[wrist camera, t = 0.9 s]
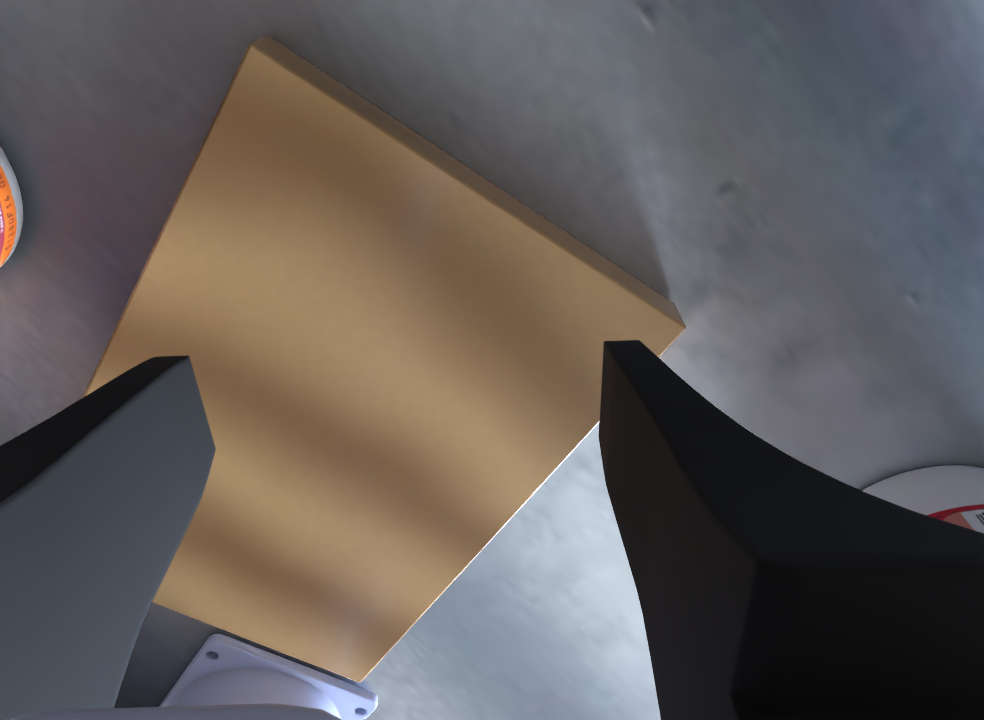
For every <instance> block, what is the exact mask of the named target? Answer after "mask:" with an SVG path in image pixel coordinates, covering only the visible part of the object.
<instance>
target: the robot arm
mask: <svg viewBox="0 0 984 720" xmlns="http://www.w3.org/2000/svg"><path fill="white" fill-rule="evenodd" d="M599 442H600V449H601V455H602V462H603V469H604V475H605V481H606V486H607V489H608V493H609V497H610V500H611V503H612V507H613V510H614V514H615V517H616V521H617V524H618V527H619V531H620V534H621V538H622V541H623V544H624V548H625V551H626V554H627V558H628V561H629V565H630V568H631V571H632V575H633V578H634V581H635V585H636V588H637V592H638V596H639V600H640V604H641V608H642V613H643V618H644V624H645V629H646V635H647V640H648V646H649V651H650V657H651V662H652V668H653V674H654V680H655V686H656V692H657V698H658V704H659V710H660V716H661V720H984V533H981V532H978V531H975V530H972V529H968V528H965V527H962V526H959V525H956V524H952V523H949V522H946V521H943V520H940V519H937V518H933V517H930V516H927V515H924V514H921V513H918V512H915V511H912V510H909V509H906V508H904V507H901V506H899V505H896V504H894V503H891V502H888V501H886V500H883V499H881V498H878V497H876V496H873V495H870V494H868V493H866V492H863V491H861V490H859V489H856V488H854V487H852V486H849V485H847V484H845V483H843V482H840V481H838V480H836V479H834V478H832V477H830V476H828V475H826V474H824V473H822V472H820V471H818V470H816V469H814V468H812V467H810V466H808V465H806V464H804V463H802V462H800V461H798V460H797V459H795V458H793V457H791V456H789V455H787V454H786V453H784V452H782V451H781V450H779V449H777V448H776V447H774V446H772V445H771V444H769V443H767V442H766V441H764V440H763V439H761V438H759V437H758V436H756V435H754V434H753V433H751V432H750V431H748V430H747V429H745V428H744V427H742V426H741V425H740V424H738V423H737V422H736V421H734V420H733V419H731V418H730V417H729V416H727V415H726V414H725V413H723V412H722V411H721V410H719V409H718V408H716V407H715V406H714V405H713V404H711V403H710V402H709V401H708V400H706V399H705V398H704V397H703V396H701V395H700V394H699V393H698V392H697V391H695V390H694V389H693V388H692V387H691V386H690V385H688V384H687V383H686V382H685V381H684V380H683V379H681V378H680V377H679V376H678V375H677V374H676V373H675V372H674V371H673V370H671V369H670V368H669V367H668V366H667V365H666V364H665V363H664V362H663V361H662V360H661V359H659V358H658V357H657V356H656V355H655V354H654V353H653V352H652V351H651V350H650V349H649V348H648V347H647V346H645V345H644V344H643V343H642V342H641V341H640V340H622V341H604V346H603V365H602V384H601V403H600V422H599ZM215 451H216V448H215V444H214V441H213V437H212V434H211V430H210V427H209V423H208V420H207V416H206V413H205V409H204V406H203V402H202V399H201V395H200V392H199V388H198V385H197V381H196V378H195V374H194V371H193V367H192V364H191V360H190V357H189V355H188V356H159V357H153V358H150V359H148V360H146V361H144V362H142V363H140V364H138V365H136V366H135V367H133V368H131V369H129V370H128V371H126V372H124V373H123V374H121V375H119V376H118V377H116V378H114V379H113V380H111V381H109V382H108V383H106V384H104V385H103V386H101V387H100V388H98V389H96V390H95V391H93V392H91V393H90V394H88V395H87V396H85V397H83V398H82V399H80V400H78V401H77V402H75V403H74V404H72V405H70V406H69V407H67V408H65V409H64V410H62V411H61V412H59V413H57V414H56V415H54V416H52V417H50V418H49V419H47V420H45V421H43V422H42V423H40V424H38V425H36V426H35V427H33V428H31V429H29V430H28V431H26V432H24V433H22V434H21V435H19V436H17V437H15V438H14V439H12V440H10V441H8V442H7V443H5V444H3V445H1V446H0V720H365V719H366V718H367V717H368V716H369V715H370V714H371V713H372V712H373V711H374V710H375V709H376V707H377V703H378V697H377V695H376V694H375V693H373V692H371V691H368V690H365V689H363V688H360V687H358V686H355V685H353V684H350V683H347V682H345V681H342V680H340V679H337V678H334V677H332V676H329V675H327V674H324V673H322V672H319V671H316V670H314V669H311V668H309V667H306V666H303V665H301V664H298V663H296V662H293V661H291V660H288V659H285V658H283V657H280V656H278V655H275V654H273V653H270V652H267V651H265V650H262V649H260V648H257V647H254V646H252V645H249V644H247V643H244V642H242V641H239V640H236V639H234V638H231V637H229V636H226V635H223V634H214V635H211V636H210V637H208V639H207V640H206V642H205V643H204V644H203V646H202V647H201V649H200V650H199V651H198V653H197V654H196V655H195V657H194V658H193V660H192V661H191V662H190V664H189V665H188V667H187V668H186V669H185V671H184V672H183V674H182V675H181V676H180V678H179V679H178V681H177V682H176V683H175V685H174V686H173V687H172V689H171V690H170V692H169V693H168V694H167V696H166V697H165V699H164V700H163V701H162V703H161V704H160V706H159V707H139V708H114V706H115V703H116V699H117V696H118V693H119V690H120V687H121V683H122V680H123V678H124V675H125V672H126V669H127V666H128V663H129V660H130V657H131V655H132V652H133V649H134V646H135V643H136V640H137V637H138V634H139V632H140V629H141V626H142V624H143V622H144V619H145V617H146V615H147V612H148V610H149V608H150V605H151V603H152V601H153V599H154V597H155V595H156V593H157V591H158V589H159V587H160V584H161V582H162V580H163V578H164V576H165V574H166V572H167V570H168V568H169V566H170V564H171V562H172V560H173V558H174V555H175V553H176V551H177V549H178V547H179V545H180V543H181V541H182V539H183V537H184V535H185V533H186V530H187V528H188V526H189V524H190V522H191V520H192V518H193V515H194V513H195V511H196V509H197V507H198V505H199V502H200V500H201V498H202V495H203V492H204V489H205V486H206V482H207V479H208V476H209V473H210V469H211V465H212V462H213V458H214V455H215Z"/></svg>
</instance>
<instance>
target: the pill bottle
mask: <svg viewBox="0 0 984 720" xmlns="http://www.w3.org/2000/svg"><path fill="white" fill-rule="evenodd" d="M22 224H23V204H22V198H21V192H20V188H19V185H18V181H17V179H16V176H15V173H14V171H13V169H12V167H11V165H10V163H9V161H8V159H7V157H6V155H5V153H4V151H3V149H2V148H1V147H0V268H1V267H2V266H3V265H4V264H5V263H6V261H7V260H8V259H9V258H10V256H11V255H12V253H13V252H14V250H15V248H16V246H17V243H18V241H19V238H20V234H21V229H22Z"/></svg>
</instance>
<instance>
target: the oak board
mask: <svg viewBox="0 0 984 720" xmlns="http://www.w3.org/2000/svg"><path fill="white" fill-rule="evenodd" d="M685 328H686V326H685V324H684V322H683V320H682V318H681V316H680V314H679V312H678V310H677V308H676V306H675V304H674V303H673V302H671V301H670V300H668V299H667V298H665V297H664V296H662V295H661V294H659V293H658V292H656V291H655V290H653V289H652V288H650V287H649V286H647V285H646V284H644V283H643V282H641V281H640V280H638V279H637V278H635V277H634V276H632V275H630V274H629V273H627V272H626V271H624V270H623V269H621V268H620V267H618V266H617V265H615V264H614V263H612V262H611V261H609V260H608V259H606V258H605V257H603V256H602V255H600V254H599V253H597V252H596V251H594V250H593V249H591V248H590V247H588V246H587V245H585V244H584V243H582V242H580V241H579V240H577V239H576V238H574V237H573V236H571V235H570V234H568V233H567V232H565V231H564V230H562V229H561V228H559V227H558V226H556V225H555V224H553V223H552V222H550V221H549V220H547V219H546V218H544V217H543V216H541V215H540V214H538V213H537V212H535V211H534V210H532V209H530V208H529V207H527V206H526V205H524V204H523V203H521V202H520V201H518V200H517V199H515V198H514V197H512V196H511V195H509V194H508V193H506V192H505V191H503V190H502V189H500V188H499V187H497V186H496V185H494V184H493V183H491V182H490V181H488V180H487V179H485V178H484V177H482V176H480V175H479V174H477V173H476V172H474V171H473V170H471V169H470V168H468V167H467V166H465V165H464V164H462V163H461V162H459V161H458V160H456V159H455V158H453V157H452V156H450V155H449V154H447V153H446V152H444V151H443V150H441V149H440V148H438V147H437V146H435V145H434V144H432V143H430V142H429V141H427V140H426V139H424V138H423V137H421V136H420V135H418V134H417V133H415V132H414V131H412V130H411V129H409V128H408V127H406V126H405V125H403V124H402V123H400V122H399V121H397V120H396V119H394V118H393V117H391V116H390V115H388V114H387V113H385V112H384V111H382V110H380V109H379V108H377V107H376V106H374V105H373V104H371V103H370V102H368V101H367V100H365V99H364V98H362V97H361V96H359V95H358V94H356V93H355V92H353V91H352V90H350V89H349V88H347V87H346V86H344V85H343V84H341V83H340V82H338V81H337V80H335V79H334V78H332V77H330V76H329V75H327V74H326V73H324V72H323V71H321V70H320V69H318V68H317V67H315V66H314V65H312V64H311V63H309V62H308V61H306V60H305V59H303V58H302V57H300V56H299V55H297V54H296V53H294V52H293V51H291V50H290V49H288V48H287V47H285V46H284V45H282V44H280V43H279V42H277V41H276V40H274V39H273V38H271V37H270V36H268V35H265V36H263V37H261V38H259V39H257V40H256V41H254V42H252V43H250V44H249V45H248V47H247V49H246V52H245V54H244V56H243V58H242V60H241V62H240V64H239V66H238V69H237V71H236V73H235V75H234V77H233V79H232V81H231V83H230V86H229V88H228V90H227V92H226V94H225V96H224V98H223V100H222V103H221V105H220V107H219V109H218V111H217V113H216V115H215V117H214V120H213V122H212V124H211V126H210V128H209V130H208V132H207V134H206V137H205V139H204V141H203V143H202V145H201V147H200V149H199V151H198V154H197V156H196V158H195V160H194V162H193V164H192V166H191V168H190V170H189V173H188V175H187V177H186V179H185V181H184V183H183V185H182V187H181V190H180V192H179V194H178V196H177V198H176V200H175V202H174V204H173V207H172V209H171V211H170V213H169V215H168V217H167V219H166V221H165V224H164V226H163V228H162V230H161V232H160V234H159V236H158V238H157V241H156V243H155V245H154V247H153V249H152V251H151V253H150V255H149V258H148V260H147V262H146V264H145V266H144V268H143V270H142V272H141V275H140V277H139V279H138V281H137V283H136V285H135V287H134V289H133V292H132V294H131V296H130V298H129V300H128V302H127V304H126V306H125V309H124V311H123V313H122V315H121V317H120V319H119V321H118V323H117V325H116V328H115V330H114V332H113V334H112V336H111V338H110V340H109V342H108V345H107V347H106V349H105V351H104V353H103V355H102V357H101V359H100V362H99V364H98V366H97V368H96V370H95V372H94V374H93V376H92V379H91V381H90V383H89V385H88V387H87V389H86V391H85V393H84V396H83V397H85V396H87V395H88V394H90V393H91V392H93V391H95V390H96V389H98V388H100V387H101V386H103V385H104V384H106V383H108V382H109V381H111V380H113V379H114V378H116V377H118V376H119V375H121V374H123V373H124V372H126V371H128V370H129V369H131V368H133V367H135V366H136V365H138V364H140V363H142V362H144V361H146V360H148V359H150V358H153V357H159V356H188V355H189V357H190V360H191V364H192V367H193V371H194V374H195V378H196V381H197V385H198V388H199V392H200V395H201V399H202V402H203V406H204V409H205V413H206V416H207V420H208V423H209V427H210V430H211V434H212V437H213V441H214V444H215V448H216V451H215V455H214V458H213V462H212V465H211V469H210V473H209V476H208V479H207V482H206V486H205V489H204V492H203V495H202V498H201V500H200V502H199V505H198V507H197V509H196V511H195V513H194V515H193V518H192V520H191V522H190V524H189V526H188V528H187V530H186V533H185V535H184V537H183V539H182V541H181V543H180V545H179V547H178V549H177V551H176V553H175V555H174V558H173V560H172V562H171V564H170V566H169V568H168V570H167V572H166V574H165V576H164V578H163V580H162V582H161V584H160V587H159V589H158V591H157V593H156V595H155V597H154V599H153V601H152V602H153V603H156V604H158V605H161V606H163V607H166V608H168V609H171V610H173V611H176V612H179V613H181V614H184V615H186V616H189V617H191V618H194V619H197V620H199V621H202V622H204V623H207V624H209V625H212V626H215V627H217V628H220V629H222V630H225V631H227V632H230V633H233V634H235V635H238V636H240V637H243V638H245V639H248V640H251V641H253V642H256V643H258V644H261V645H263V646H266V647H268V648H271V649H274V650H276V651H279V652H281V653H284V654H286V655H289V656H292V657H294V658H297V659H299V660H302V661H304V662H307V663H310V664H312V665H315V666H317V667H320V668H322V669H325V670H328V671H330V672H333V673H335V674H338V675H340V676H343V677H346V678H348V679H351V680H353V681H356V682H358V683H360V682H361V681H362V680H363V679H364V678H365V677H366V676H367V675H368V674H369V673H370V672H371V671H372V669H373V668H374V667H375V666H376V665H377V664H378V663H379V662H380V661H381V660H382V659H383V657H384V656H385V655H386V654H387V653H388V652H389V651H390V650H391V649H392V648H393V647H394V646H395V644H396V643H397V642H398V641H399V640H400V639H401V638H402V637H403V636H404V635H405V634H406V632H407V631H408V630H409V629H410V628H411V627H412V626H413V625H414V624H415V623H416V622H417V620H418V619H419V618H420V617H421V616H422V615H423V614H424V613H425V612H426V611H427V610H428V609H429V607H430V606H431V605H432V604H433V603H434V602H435V601H436V600H437V599H438V598H439V597H440V595H441V594H442V593H443V592H444V591H445V590H446V589H447V588H448V587H449V586H450V585H451V583H452V582H453V581H454V580H455V579H456V578H457V577H458V576H459V575H460V574H461V573H462V572H463V570H464V569H465V568H466V567H467V566H468V565H469V564H470V563H471V562H472V561H473V560H474V558H475V557H476V556H477V555H478V554H479V553H480V552H481V551H482V550H483V549H484V548H485V546H486V545H487V544H488V543H489V542H490V541H491V540H492V539H493V538H494V537H495V536H496V535H497V533H498V532H499V531H500V530H501V529H502V528H503V527H504V526H505V525H506V524H507V523H508V521H509V520H510V519H511V518H512V517H513V516H514V515H515V514H516V513H517V512H518V511H519V509H520V508H521V507H522V506H523V505H524V504H525V503H526V502H527V501H528V500H529V499H530V498H531V496H532V495H533V494H534V493H535V492H536V491H537V490H538V489H539V488H540V487H541V486H542V484H543V483H544V482H545V481H546V480H547V479H548V478H549V477H550V476H551V475H552V474H553V473H554V471H555V470H556V469H557V468H558V467H559V466H560V465H561V464H562V463H563V462H564V461H565V459H566V458H567V457H568V456H569V455H570V454H571V453H572V452H573V451H574V450H575V449H576V447H577V446H578V445H579V444H580V443H581V442H582V441H583V440H584V439H585V438H586V437H587V436H588V434H589V433H590V432H591V431H592V430H593V429H594V428H595V427H596V426H597V425H598V424H599V422H600V403H601V384H602V365H603V346H604V341H622V340H640V341H641V342H642V343H643V344H644V345H645V346H647V347H648V348H649V349H650V350H651V351H652V352H653V353H654V354H655V355H656V356H657V357H658V358H659V357H660V356H661V355H662V354H663V353H664V352H665V351H666V350H667V348H668V347H669V346H670V345H671V344H672V343H673V342H674V341H675V340H676V339H677V338H678V337H679V335H680V334H681V333H682V332H683V331H684V330H685Z"/></svg>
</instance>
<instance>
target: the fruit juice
mask: <svg viewBox="0 0 984 720" xmlns="http://www.w3.org/2000/svg"><path fill="white" fill-rule="evenodd" d="M862 491H863V492H866V493H868V494H870V495H873V496H876V497H878V498H881V499H883V500H886V501H888V502H891V503H894V504H896V505H899V506H901V507H904V508H906V509H909V510H912V511H915V512H918V513H921V514H924V515H927V516H930V517H933V518H937V519H940V520H943V521H946V522H949V523H952V524H956V525H959V526H962V527H965V528H968V529H972V530H975V531H978V532H981V533H984V468H979V467H972V466H961V465H947V466H934V467H927V468H922V469H917V470H912V471H908V472H905V473H901V474H898V475H895V476H892V477H890V478H887V479H884V480H882V481H880V482H878V483H875V484H873V485H871V486H869V487H867V488H865V489H864V490H862Z"/></svg>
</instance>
